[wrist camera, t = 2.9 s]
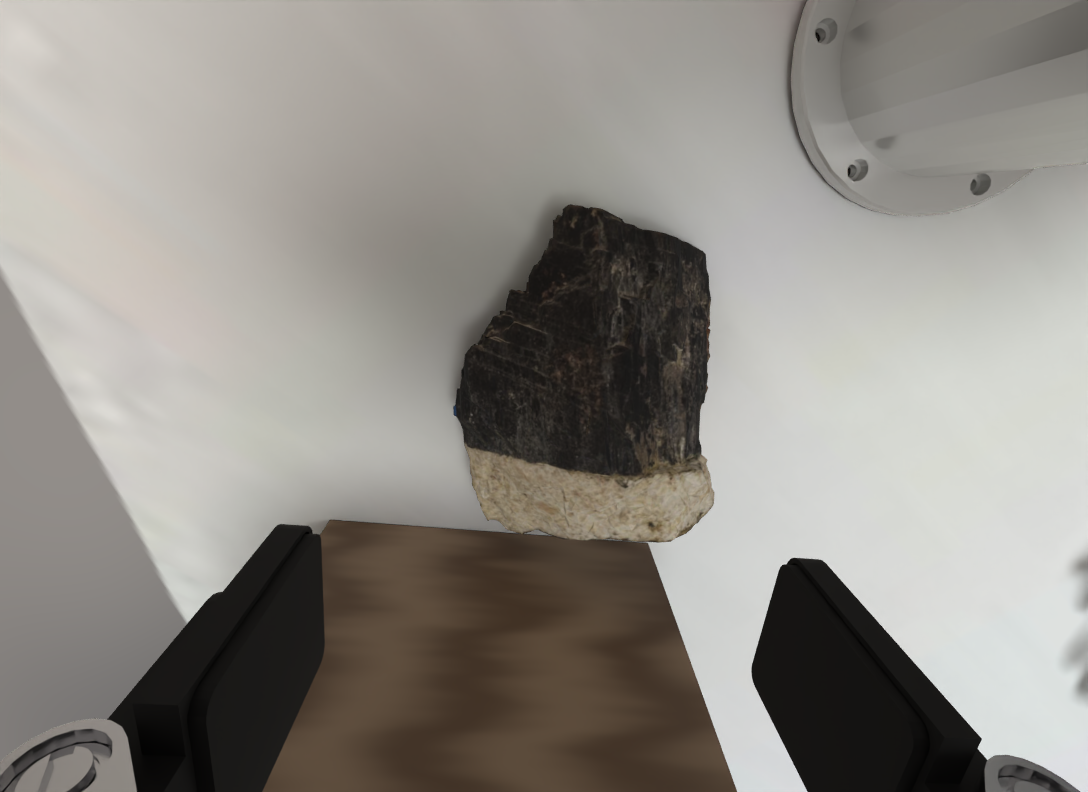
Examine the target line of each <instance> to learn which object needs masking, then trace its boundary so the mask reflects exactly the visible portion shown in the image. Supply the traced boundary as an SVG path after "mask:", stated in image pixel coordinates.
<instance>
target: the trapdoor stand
mask: <svg viewBox="0 0 1088 792" xmlns="http://www.w3.org/2000/svg"><path fill="white" fill-rule="evenodd" d="M320 537H321V547H322V575H323V603H324V632H325V648H324V654H323V658H322V662H321V664H320V667H319V669H318V671H317V673H316V675H315V678H314V680H313V682H312V684H311V686H310V689H309V691H308V693H307V695H306V697H305V699H304V702H303V704H302V706H301V708H300V710H299V713H298V715H297V717H296V719H295V721H294V723H293V726H292V728H291V730H290V732H289V734H288V737H287V739H286V741H285V743H284V745H283V748H282V750H281V752H280V754H279V756H278V758H277V761H276V763H275V765H274V767H273V769H272V772H271V774H270V776H269V778H268V780H267V782H266V785H265V787H264V789H263V791H262V792H737V790H736V787H735V785H734V782H733V779H732V776H731V773H730V771H729V768H728V765H727V762H726V759H725V757H724V754H723V751H722V748H721V746H720V743H719V740H718V737H717V734H716V732H715V729H714V726H713V723H712V720H711V718H710V715H709V712H708V709H707V707H706V704H705V701H704V698H703V695H702V693H701V690H700V687H699V684H698V681H697V679H696V676H695V673H694V670H693V668H692V665H691V662H690V659H689V656H688V654H687V651H686V648H685V645H684V642H683V640H682V637H681V634H680V631H679V629H678V626H677V623H676V620H675V617H674V615H673V612H672V609H671V606H670V603H669V601H668V598H667V595H666V592H665V589H664V587H663V584H662V581H661V578H660V576H659V573H658V570H657V567H656V564H655V562H654V559H653V556H652V553H651V550H650V548H649V545H648V543H635V542H622V541H608V540H588V541H583V540H577V539H561V538H557V537H554V536H540V535H527V534H513V533H499V532H486V531H472V530H459V529H445V528H432V527H418V526H404V525H391V524H377V523H364V522H350V521H337V520H330V521H329V522H328V524H327V525H326V527H325V528H324V530H323V531H322V533H321V534H320Z"/></svg>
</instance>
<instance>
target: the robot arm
mask: <svg viewBox="0 0 1088 792" xmlns="http://www.w3.org/2000/svg"><path fill="white" fill-rule="evenodd" d="M815 32H817V33H818V34H819V36H820V41H819V42H818V41H817V39H816V37H815ZM791 90H792V105H793V112H794V116H795V120H796V124H797V128H798V132H799V136H800V139H801V141H802V143H803V145H804V147H805V149H806V151H807V153H808V155H809V157H810V160H811V162H812V163H813V165H814V166H815V167H816V168H817V170H818V171H819V172H820V174H821V175H822V176H823V177H824V179H825V180H826V181H827V183H828V184H830V185H831V186H832V187H833V188H835V189H836V190H837V191H838V192H840V193H841V194H842V195H843V196H844V197H846V198H847V199H849V200H851V201H853V202H855V203H857V204H859V205H861V206H863V207H865V208H867V209H869V210H873V211H878V212H882V213H886V214H891V215H905V216H926V215H936V214H947V213H950V212H954V211H957V210H961V209H964V208H968V207H971V206H975V205H977V204H979V203H981V202H983V201H985V200H987V199H989V198H991V197H993V196H995V195H997V194H1000V193H1002V192H1003V191H1005V190H1006V189H1008V188H1009V187H1010V186H1012V185H1013V184H1015V183H1016V182H1018V181H1019V180H1021V179H1022V178H1023V177H1025V176H1026V175H1028V174H1029V173H1030V172H1031V171H1032V170H1033V169H1034V168H1044V167H1055V166H1065V165H1076V164H1086V163H1088V0H807V2H806V4H805V7H804V9H803V12H802V16H801V20H800V23H799V27H798V31H797V35H796V39H795V43H794V49H793V59H792V69H791ZM848 167H850V169H851V173H850V175H849V176H848ZM324 648H325V632H324V603H323V575H322V547H321V537H320V535H319V534H313V533H312V529H311V527H309V526H300V525H285V524H280V525H277V526H276V527H275V528H274V529H273V531H272V532H271V533H270V534H269V536H268V537H267V538H266V539H265V541H264V542H263V543H262V544H261V545H260V547H259V548H258V549H257V550H256V552H255V553H254V554H253V555H252V557H251V558H250V559H249V560H248V562H247V563H246V564H245V565H244V566H243V568H242V569H241V570H240V571H239V573H238V574H237V575H236V576H235V578H234V579H233V580H232V581H231V582H230V584H229V585H228V586H227V587H226V589H225V590H224V591H223V592H218V593H216V594H213V595H212V596H211V597H210V598H209V599H208V600H207V601H206V602H205V603H204V604H203V606H202V607H201V608H200V609H199V610H198V612H197V613H196V614H195V615H194V616H193V618H192V619H191V620H190V621H189V622H188V624H187V625H186V626H185V627H184V628H183V630H182V631H181V632H180V633H179V635H178V636H177V637H176V638H175V639H174V641H173V642H172V643H171V644H170V645H169V647H168V648H167V649H166V650H165V651H164V652H163V654H162V655H161V656H160V657H159V658H158V660H157V661H156V662H155V663H154V664H153V665H152V667H151V668H150V669H149V670H148V671H147V673H146V674H145V675H144V676H143V677H142V679H141V680H140V681H139V682H138V683H137V685H136V686H135V687H134V688H133V689H132V691H131V692H130V693H129V694H128V695H127V697H126V698H125V699H124V700H123V701H122V703H121V704H120V705H119V706H118V707H117V709H116V710H115V711H114V712H113V713H112V715H111V716H110V717H109V718H108V719H107V720H104V719H96V718H94V719H87V720H79V721H74V722H71V723H67V724H65V725H61V726H58V727H55V728H52V729H50V730H48V731H47V732H44V733H42V734H40V735H39V736H36V737H34V738H32V739H30V740H29V741H27V742H26V743H24V744H23V745H21V746H20V747H19V748H17V749H15V750H14V751H13V752H11V753H10V754H8V755H7V756H6V757H5V758H4V759H3V760H2V761H1V762H0V792H262V791H263V789H264V787H265V785H266V782H267V780H268V778H269V776H270V774H271V772H272V769H273V767H274V765H275V763H276V761H277V758H278V756H279V754H280V752H281V750H282V748H283V745H284V743H285V741H286V739H287V737H288V734H289V732H290V730H291V728H292V726H293V723H294V721H295V719H296V717H297V715H298V713H299V710H300V708H301V706H302V704H303V702H304V699H305V697H306V695H307V693H308V691H309V689H310V686H311V684H312V682H313V680H314V678H315V675H316V673H317V671H318V669H319V667H320V664H321V662H322V658H323V654H324ZM752 679H753V683H754V685H755V688H756V690H757V692H758V694H759V696H760V698H761V700H762V702H763V704H764V706H765V708H766V710H767V712H768V714H769V716H770V718H771V720H772V722H773V724H774V726H775V728H776V730H777V732H778V734H779V736H780V738H781V740H782V742H783V744H784V746H785V748H786V750H787V752H788V753H789V755H790V757H791V759H792V761H793V763H794V765H795V767H796V769H797V771H798V773H799V775H800V777H801V779H802V781H803V783H804V785H805V787H806V789H807V791H808V792H1080V791H1079V790H1077V789H1076V788H1075V787H1073V786H1072V785H1070V784H1069V783H1068V782H1066V781H1065V780H1064V779H1062V778H1061V777H1059V776H1057V775H1056V774H1054V773H1052V772H1051V771H1049V770H1047V769H1045V768H1044V767H1042V766H1040V765H1037V764H1035V763H1032V762H1030V761H1028V760H1025V759H1023V758H1018V757H1014V756H1010V755H996V756H993V757H992V758H990V759H989V760H987V759H986V758H985V757H984V756H983V755H982V753H981V752H980V751H979V750H978V749H977V748H978V746H979V744H980V742H981V740H982V739H981V738H980V736H979V735H978V734H977V733H976V732H975V731H974V730H973V729H972V727H971V726H970V725H969V724H968V723H967V722H966V721H965V720H964V718H963V717H962V716H961V715H960V714H959V713H958V712H957V711H956V709H955V708H954V707H953V706H952V705H951V704H950V703H949V702H948V700H947V699H946V698H945V697H944V696H943V695H942V694H941V693H940V691H939V690H938V689H937V688H936V687H935V686H934V685H933V684H932V682H931V681H930V680H929V679H928V678H927V677H926V676H925V675H924V673H923V672H922V671H921V670H920V669H919V668H918V667H917V666H916V664H915V663H914V662H913V661H912V660H911V659H910V658H909V657H908V655H907V654H906V653H905V652H904V651H903V650H902V649H901V648H900V646H899V645H898V644H897V643H896V642H895V641H894V640H893V639H892V637H891V636H890V635H889V634H888V633H887V632H886V631H885V630H884V628H883V627H882V626H881V625H880V624H879V623H878V622H877V621H876V619H875V618H874V617H873V616H872V615H871V614H870V613H869V612H868V610H867V609H866V608H865V607H864V606H863V605H862V604H861V603H860V601H859V600H858V599H857V598H856V597H855V596H854V595H853V594H852V592H851V591H850V590H849V589H848V588H847V587H846V586H845V585H844V583H843V582H842V581H841V580H840V579H839V578H838V577H837V576H836V574H835V573H834V572H833V571H832V570H831V569H830V568H829V567H828V565H827V564H826V563H825V562H823V561H822V560H818V559H803V558H792V559H790V560H789V561H788V563H787V565H782V566H781V567H780V570H779V572H778V576H777V579H776V583H775V586H774V590H773V593H772V597H771V600H770V604H769V607H768V611H767V614H766V618H765V621H764V625H763V628H762V632H761V635H760V639H759V642H758V646H757V649H756V653H755V656H754V660H753V663H752Z"/></svg>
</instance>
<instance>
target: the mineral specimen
mask: <svg viewBox="0 0 1088 792" xmlns="http://www.w3.org/2000/svg"><path fill="white" fill-rule="evenodd" d="M710 302H711V297H710V291H709V276H708V273H707V269H706V254H705V253H704V252H703V251H701V250H699V249H697V248H696V247H694V246H692V245H691V244H689V243H686V242H683V241H681V240H679V239H678V238H676V237H673V236H670V235H667V234H664V233H661V232H656V231H650V230H642V229H639V228H637V227H635V226H634V225H630V224H626V223H624V222H623V220H622V219H620V218H618V217H616V216H614V215H613V214H611V213H609V212H607V211H605V210H602V209H599V208H592V207H591V208H584V207H583V206H576V205H568V206H566V207H565V208H564V209H563V214H562V216H561V215H558V216H557V218H556V219H555V220H553V238H552V239H550V241H549V245H548V248H547V250H545V251H544V254H543V256H542V259H541V260H540V261H539V263H538V264H537V265H535V266H534V267H533V269H532V271H531V273H530V275H529V282H527V289H526V291H524V292H522V291H520V290H517V291H515V290H510V291H509V295H508V299H507V304H506V311H500V315H499V316H494V317H493V319H492V321H491V323H490V324H489V326H488V327H487V328H486V330H485V332H484V334H483V335H482V337H481V340H480V341H479V343H478V345H475V344H474V346H471V348H470V349H469V350H468V352H467V353H466V354H465V362H464V367H463V369H462V379H461V386H460V389H459V388H458V389H457V397H456V405H455V406H454V407H453V409H454V415H455V416H456V417H457V418H458V420H459V421H460V423H461V426H462V428H463V433H464V444H465V448H466V450H467V452H468V454H469V458H470V472H471V475H472V485H473V487H474V489H475V491H476V493H477V498H478V501H479V502H480V505H481V508H482V511H483V513H484V515H485V517H486V519H487V520H488V521H489V520H497V521H499V522H500V523H501V524H502V525H503V526H504V527H505V528H506V529H507V530H510V531H513V532H516V533H520V534H524V533H528V532H531V531H533V530H540V531H542V532H545V533H547V534H550V535H552V536H555V537H557V538H561V539H577V540H583V541H588V540H596V539H615V540H623V541H638V542H671V541H672V540H673V539H675V538H677V537H679V536H682V535H684V534H686V533H687V532H688V531H689V530H691V529H692V527H693V526H694V525H695V524H696V523H698V522H699V520H700V519H701V518H702V517H703V516H705V514H706V513H707V512H708V511H709V510H710V509H711V507H712V506H713V503H714V491H713V489H712V488H711V479H710V474H709V471H708V468H707V465H706V462H707V459H706V458H705V457H704V456H702V455H701V445H700V442H699V422H700V409H701V405H702V404H703V403H704V400H705V394H706V392H707V389H708V387H707V378H708V373H707V362H708V360H709V358H710V354H709V350H708V349H709V340H708V338H709V333H710V329H708V327H709V326H710Z"/></svg>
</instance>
